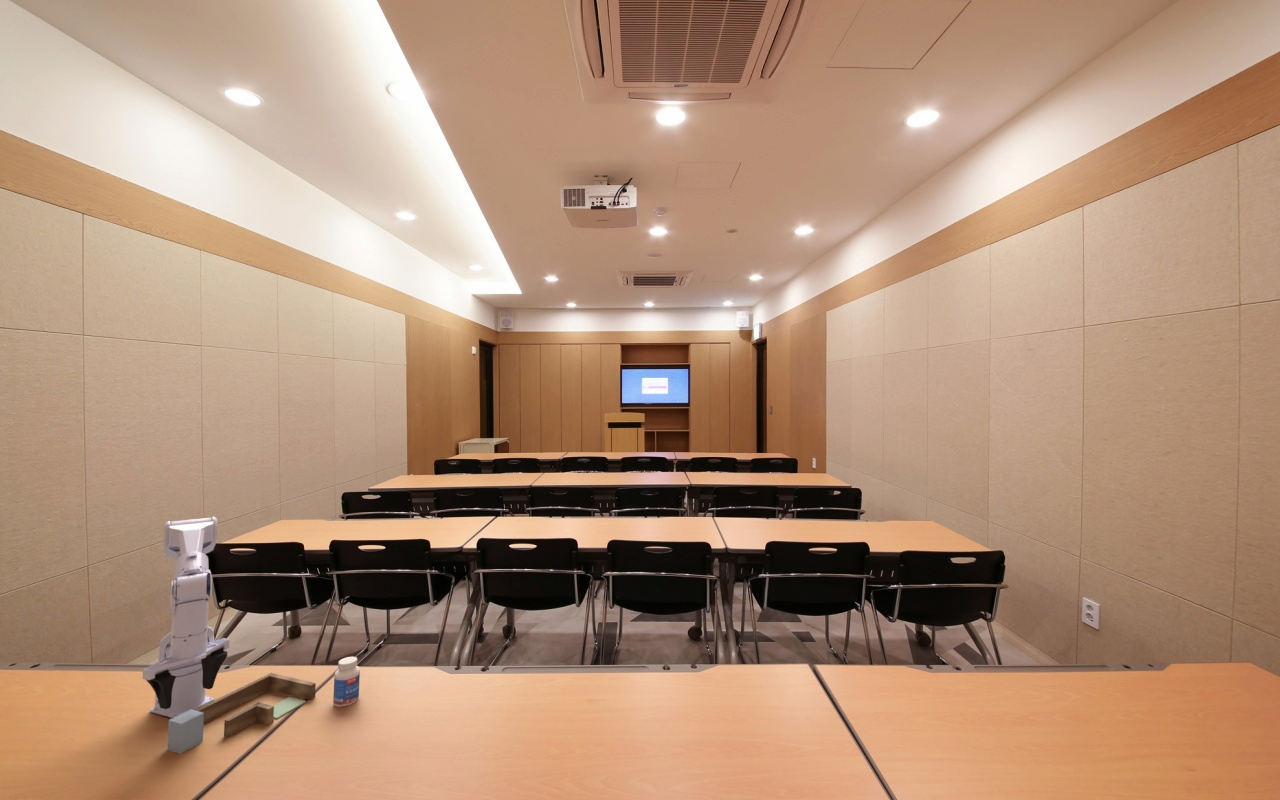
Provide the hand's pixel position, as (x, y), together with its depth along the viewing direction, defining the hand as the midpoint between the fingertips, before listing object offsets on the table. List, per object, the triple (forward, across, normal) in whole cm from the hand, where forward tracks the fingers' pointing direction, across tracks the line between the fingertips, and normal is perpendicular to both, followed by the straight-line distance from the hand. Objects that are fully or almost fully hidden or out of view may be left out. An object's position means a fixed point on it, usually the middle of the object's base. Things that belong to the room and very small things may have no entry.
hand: (187, 697), depth 104 cm
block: (+10, 0, 0) cm, 10 cm away
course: (+10, +13, -2) cm, 17 cm away
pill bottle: (+10, +23, -18) cm, 31 cm away
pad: (+10, +16, -6) cm, 20 cm away
